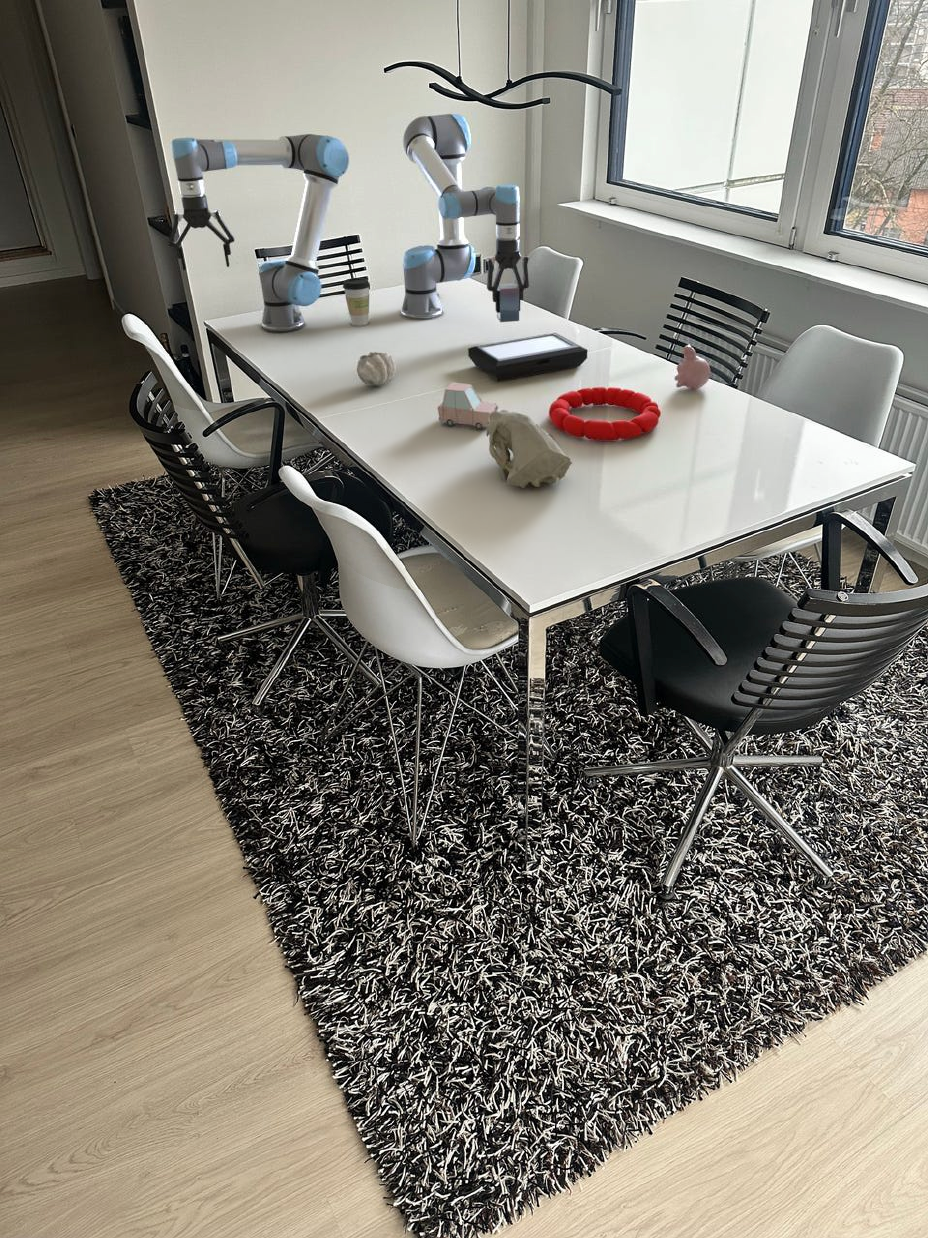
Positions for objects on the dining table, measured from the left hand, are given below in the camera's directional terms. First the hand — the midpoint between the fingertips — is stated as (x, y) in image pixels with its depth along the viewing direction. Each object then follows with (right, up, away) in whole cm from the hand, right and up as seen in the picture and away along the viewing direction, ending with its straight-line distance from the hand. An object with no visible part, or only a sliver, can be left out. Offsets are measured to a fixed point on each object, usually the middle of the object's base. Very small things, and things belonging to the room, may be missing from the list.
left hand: (206, 267), depth 285 cm
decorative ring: (+121, -59, -42) cm, 141 cm away
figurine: (+149, -45, -23) cm, 158 cm away
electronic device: (+103, -32, -2) cm, 108 cm away
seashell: (+56, -41, -13) cm, 71 cm away
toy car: (+84, -59, -40) cm, 110 cm away
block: (+98, -11, +17) cm, 100 cm away
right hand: (+98, -9, +15) cm, 99 cm away
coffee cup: (+44, -4, +42) cm, 61 cm away
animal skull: (+97, -76, -65) cm, 139 cm away
